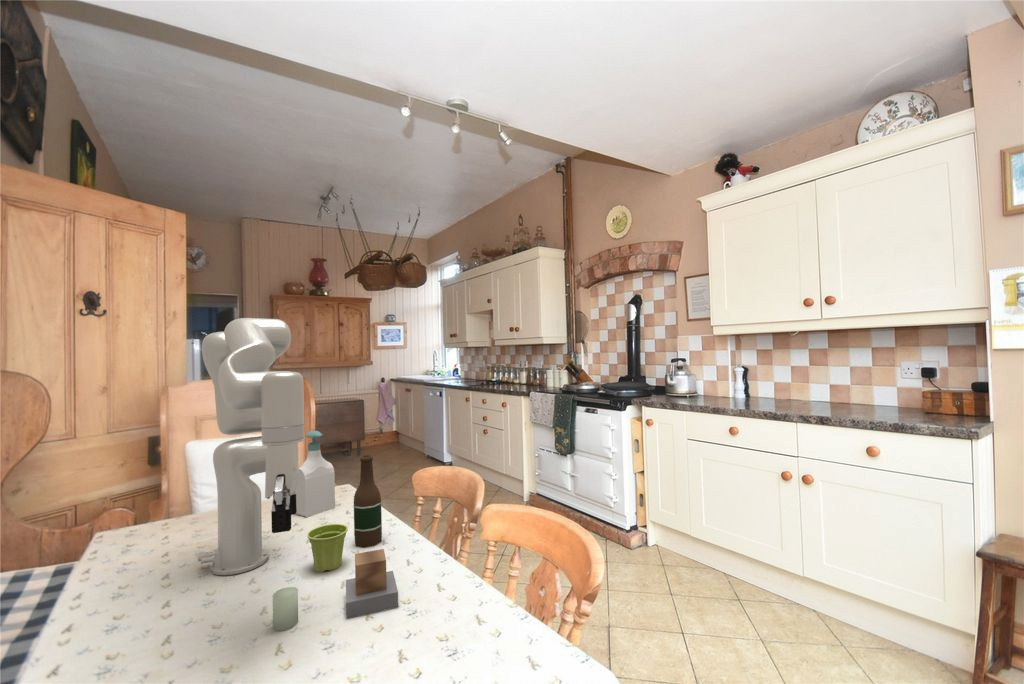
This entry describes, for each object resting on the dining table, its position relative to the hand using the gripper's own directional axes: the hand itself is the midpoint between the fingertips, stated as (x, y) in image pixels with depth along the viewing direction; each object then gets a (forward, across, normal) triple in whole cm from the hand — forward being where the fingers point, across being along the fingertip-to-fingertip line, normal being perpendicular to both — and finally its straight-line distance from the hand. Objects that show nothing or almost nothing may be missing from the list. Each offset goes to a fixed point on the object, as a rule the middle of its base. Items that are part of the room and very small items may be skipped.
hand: (284, 522), depth 86 cm
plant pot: (+20, -23, +7) cm, 31 cm away
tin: (+20, 0, 0) cm, 20 cm away
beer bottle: (+19, -34, +17) cm, 43 cm away
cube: (+16, -2, +16) cm, 23 cm away
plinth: (+20, -2, +16) cm, 25 cm away
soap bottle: (+19, -69, +2) cm, 72 cm away
